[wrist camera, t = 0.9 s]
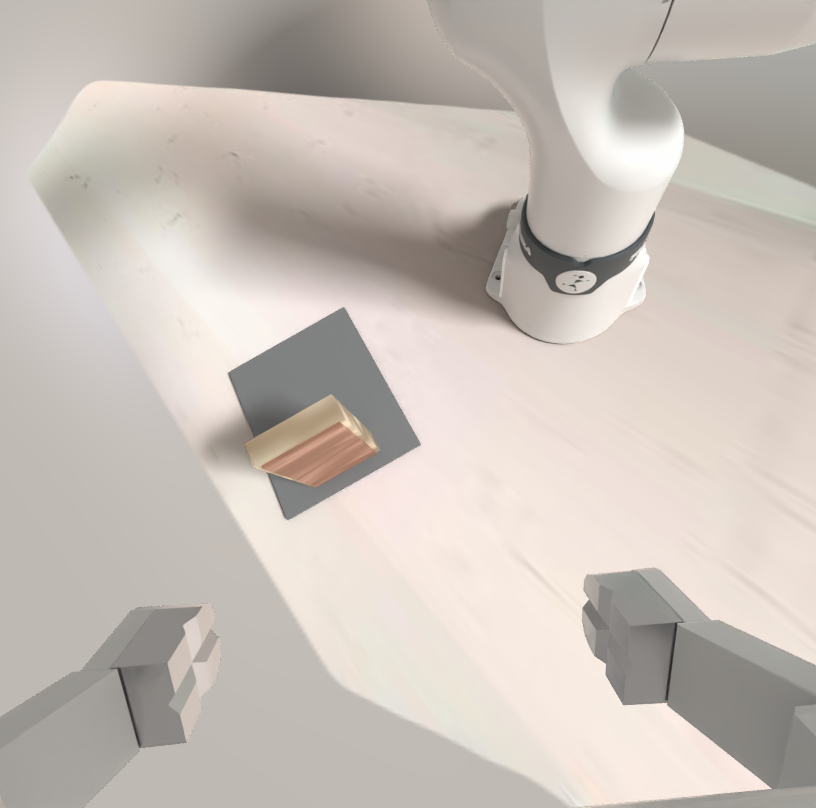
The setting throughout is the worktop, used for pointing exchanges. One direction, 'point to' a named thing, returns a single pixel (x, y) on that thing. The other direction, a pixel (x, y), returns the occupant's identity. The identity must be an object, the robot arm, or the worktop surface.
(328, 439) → the flat wooden block
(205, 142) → the worktop surface
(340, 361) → the rubber mat
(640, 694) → the robot arm
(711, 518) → the worktop surface
